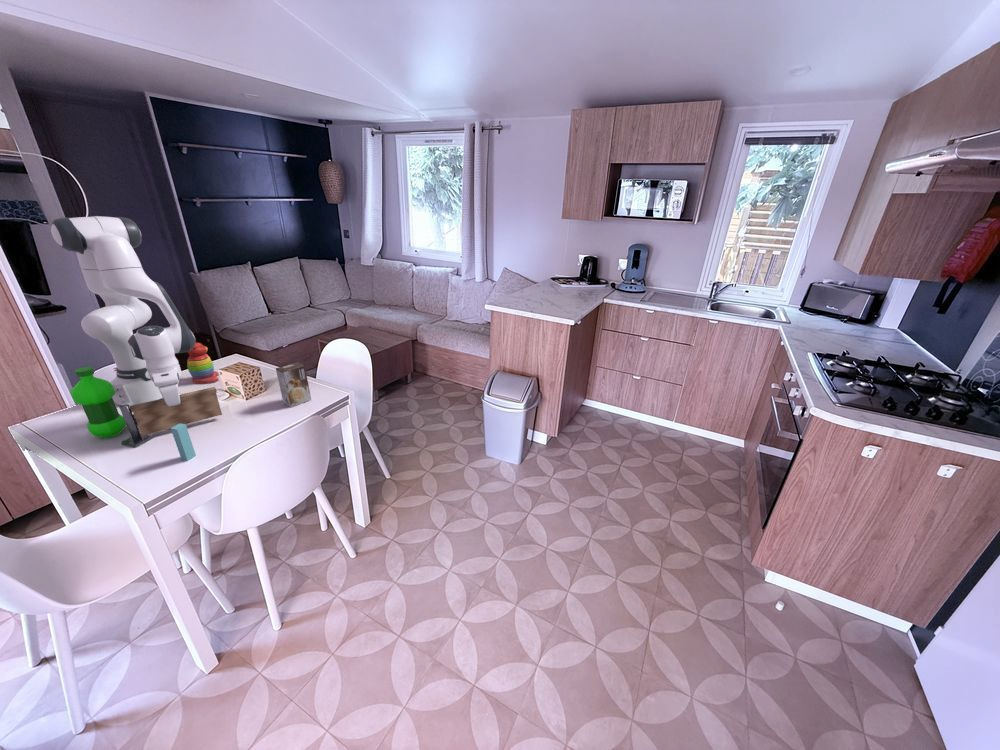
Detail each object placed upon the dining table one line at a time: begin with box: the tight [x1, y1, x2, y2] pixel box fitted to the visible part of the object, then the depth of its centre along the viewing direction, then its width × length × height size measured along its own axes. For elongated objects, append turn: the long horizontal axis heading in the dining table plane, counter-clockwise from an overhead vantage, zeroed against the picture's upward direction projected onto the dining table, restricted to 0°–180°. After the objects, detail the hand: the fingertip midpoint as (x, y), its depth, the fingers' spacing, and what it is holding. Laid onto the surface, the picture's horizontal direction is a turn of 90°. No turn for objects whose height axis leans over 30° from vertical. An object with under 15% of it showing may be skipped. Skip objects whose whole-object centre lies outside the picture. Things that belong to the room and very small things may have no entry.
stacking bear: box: [186, 342, 220, 385], centre depth 178 cm, size 11×10×18 cm
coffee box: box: [275, 361, 312, 408], centre depth 164 cm, size 9×6×16 cm
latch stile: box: [170, 423, 197, 462], centre depth 128 cm, size 2×3×12 cm
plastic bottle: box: [70, 366, 127, 439], centre depth 135 cm, size 10×10×25 cm
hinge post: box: [118, 404, 154, 448], centre depth 135 cm, size 6×6×14 cm
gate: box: [130, 386, 223, 436], centre depth 143 cm, size 24×2×11 cm, turn 133°
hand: (176, 406), depth 146 cm, fingers closed
